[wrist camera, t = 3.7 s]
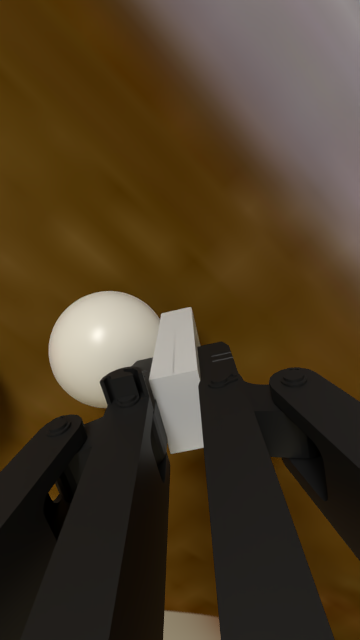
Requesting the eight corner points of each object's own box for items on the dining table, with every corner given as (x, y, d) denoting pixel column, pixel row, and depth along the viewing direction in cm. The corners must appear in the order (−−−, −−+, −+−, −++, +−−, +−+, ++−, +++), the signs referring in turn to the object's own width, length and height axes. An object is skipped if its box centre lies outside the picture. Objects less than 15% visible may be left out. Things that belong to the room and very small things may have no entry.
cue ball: (175, 280, 14) (47, 332, 11) (201, 388, 16) (97, 454, 13) (120, 271, 18) (18, 307, 16) (145, 357, 20) (59, 402, 18)
